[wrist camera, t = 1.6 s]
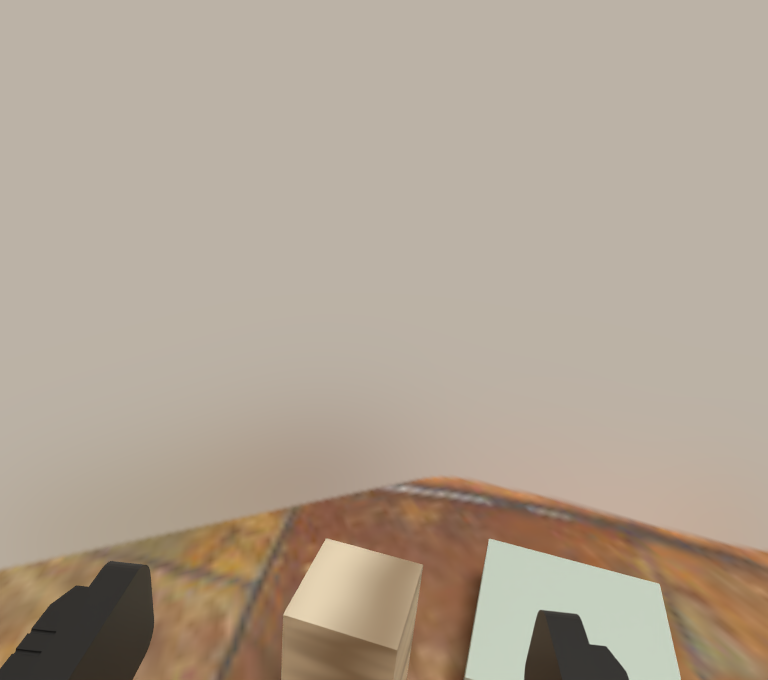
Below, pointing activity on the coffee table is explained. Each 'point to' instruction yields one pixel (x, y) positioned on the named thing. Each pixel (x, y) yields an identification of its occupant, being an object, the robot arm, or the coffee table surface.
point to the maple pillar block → (351, 617)
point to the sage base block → (570, 595)
